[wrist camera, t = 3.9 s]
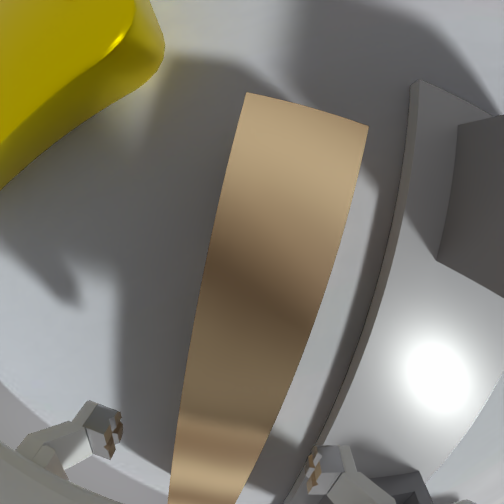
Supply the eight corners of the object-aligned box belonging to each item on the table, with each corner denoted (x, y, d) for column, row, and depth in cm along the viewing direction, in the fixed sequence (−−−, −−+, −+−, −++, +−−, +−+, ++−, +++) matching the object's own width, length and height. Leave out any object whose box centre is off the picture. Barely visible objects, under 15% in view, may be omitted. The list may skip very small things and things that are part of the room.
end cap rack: (410, 84, 11) (540, 12, 2) (548, 162, 11) (646, 172, 2) (276, 513, 18) (276, 594, 9) (394, 505, 18) (413, 571, 9)
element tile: (179, 71, 12) (141, 26, 7) (-12, 205, 13) (-64, 215, 9) (122, -68, 9) (97, -104, 4) (-26, 48, 11) (-62, 38, 6)
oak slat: (253, 126, 12) (246, 92, 7) (331, 146, 12) (369, 126, 7) (179, 475, 18) (165, 524, 13) (223, 485, 18) (216, 536, 13)
